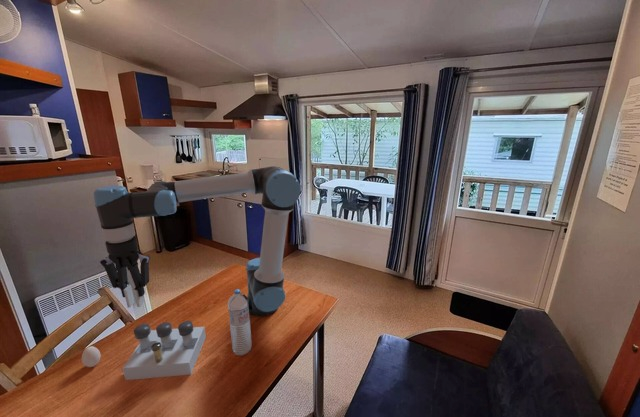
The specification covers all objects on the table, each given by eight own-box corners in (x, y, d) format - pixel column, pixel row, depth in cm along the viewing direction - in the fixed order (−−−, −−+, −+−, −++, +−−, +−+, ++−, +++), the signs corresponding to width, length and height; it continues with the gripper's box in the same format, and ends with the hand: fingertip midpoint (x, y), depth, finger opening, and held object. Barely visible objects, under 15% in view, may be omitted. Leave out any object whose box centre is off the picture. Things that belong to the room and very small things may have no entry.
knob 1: (155, 340, 91) (151, 323, 89) (149, 350, 87) (145, 332, 85) (142, 341, 91) (138, 324, 89) (135, 351, 87) (130, 333, 85)
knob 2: (196, 337, 93) (194, 320, 91) (192, 347, 89) (189, 329, 87) (184, 338, 92) (181, 321, 90) (179, 348, 88) (175, 330, 86)
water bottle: (234, 359, 91) (228, 299, 83) (231, 345, 97) (225, 287, 89) (253, 352, 94) (249, 293, 87) (249, 339, 100) (245, 282, 92)
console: (205, 337, 100) (204, 326, 99) (191, 374, 85) (189, 362, 84) (150, 341, 98) (148, 330, 96) (125, 380, 83) (122, 368, 81)
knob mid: (176, 338, 92) (173, 321, 90) (171, 348, 88) (167, 331, 86) (163, 339, 92) (159, 322, 90) (157, 349, 88) (153, 332, 85)
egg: (85, 363, 88) (79, 346, 86) (103, 357, 91) (98, 340, 89) (83, 373, 85) (77, 356, 82) (102, 366, 87) (96, 349, 85)
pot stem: (165, 356, 86) (162, 341, 84) (161, 363, 83) (158, 348, 81) (156, 357, 85) (153, 342, 84) (152, 363, 83) (149, 349, 81)
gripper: (154, 232, 82) (166, 296, 88) (101, 233, 80) (118, 298, 87) (141, 242, 74) (155, 310, 81) (83, 244, 73) (102, 313, 80)
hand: (136, 304), depth 84 cm, fingers open, 2 cm apart
